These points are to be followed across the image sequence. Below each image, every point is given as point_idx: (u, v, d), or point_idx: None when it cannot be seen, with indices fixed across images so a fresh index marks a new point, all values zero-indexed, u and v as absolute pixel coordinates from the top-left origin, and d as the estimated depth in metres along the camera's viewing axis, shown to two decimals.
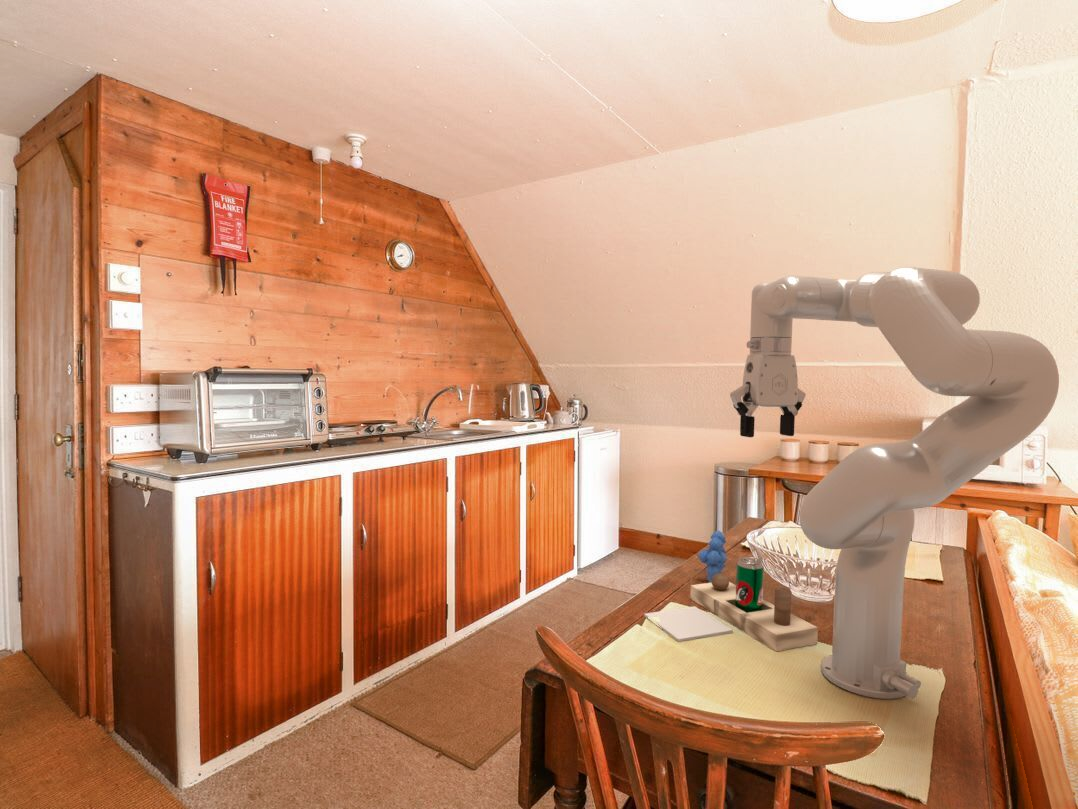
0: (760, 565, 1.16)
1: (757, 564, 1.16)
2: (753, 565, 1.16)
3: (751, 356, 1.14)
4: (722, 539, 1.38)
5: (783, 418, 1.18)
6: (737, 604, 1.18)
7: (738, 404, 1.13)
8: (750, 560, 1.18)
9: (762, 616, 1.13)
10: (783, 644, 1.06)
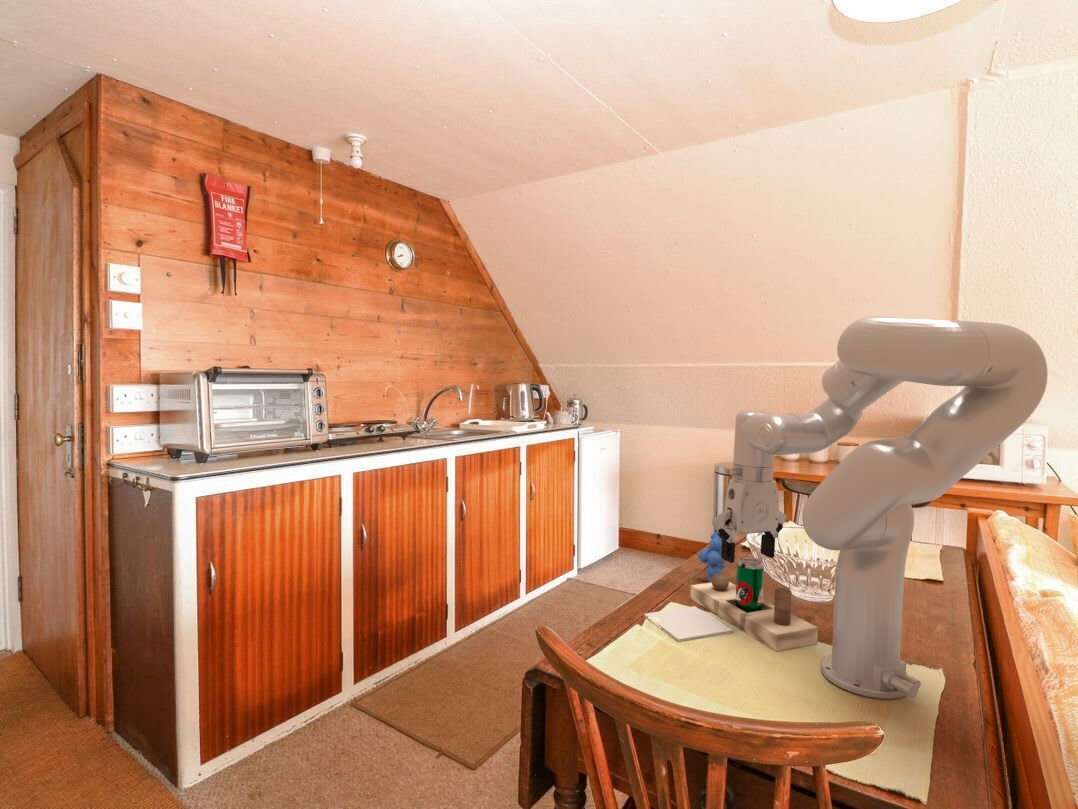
0: (760, 565, 1.16)
1: (757, 564, 1.16)
2: (753, 565, 1.16)
3: (733, 483, 1.16)
4: None
5: (764, 539, 1.21)
6: (737, 604, 1.18)
7: (719, 531, 1.15)
8: (750, 560, 1.18)
9: (762, 616, 1.13)
10: (783, 644, 1.06)
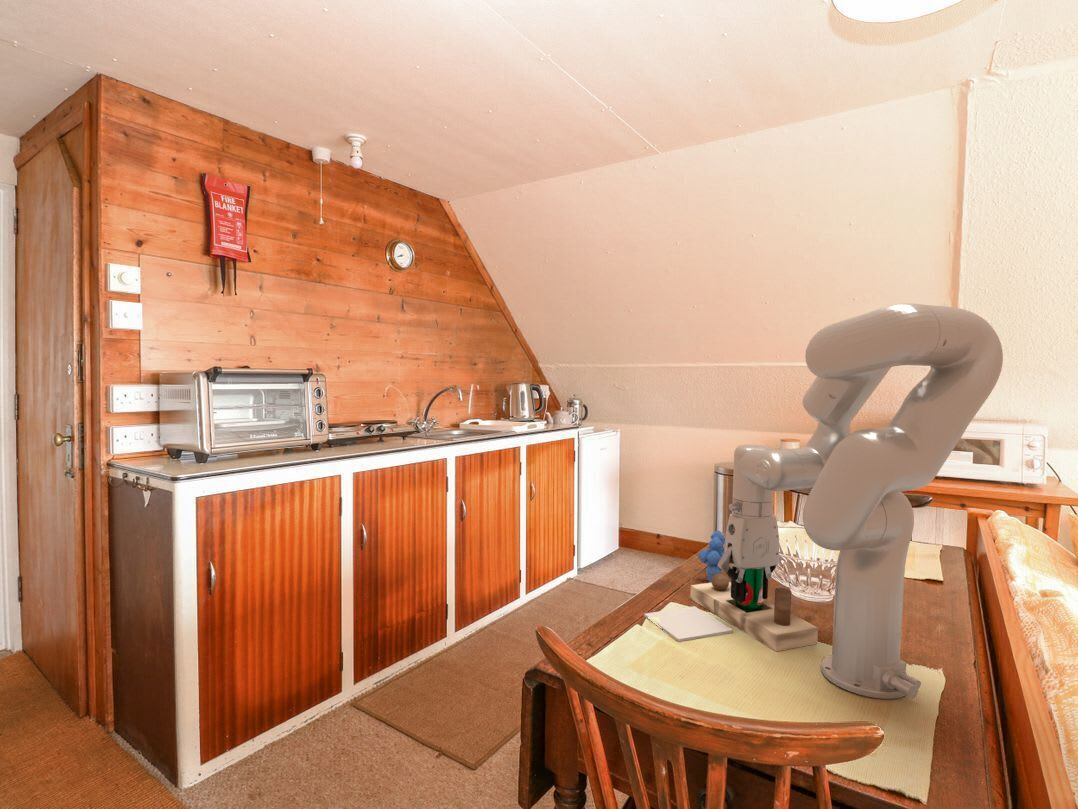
0: None
1: None
2: None
3: (733, 518, 1.16)
4: (722, 539, 1.38)
5: None
6: (737, 604, 1.18)
7: (728, 572, 1.16)
8: None
9: (762, 616, 1.13)
10: (783, 644, 1.06)
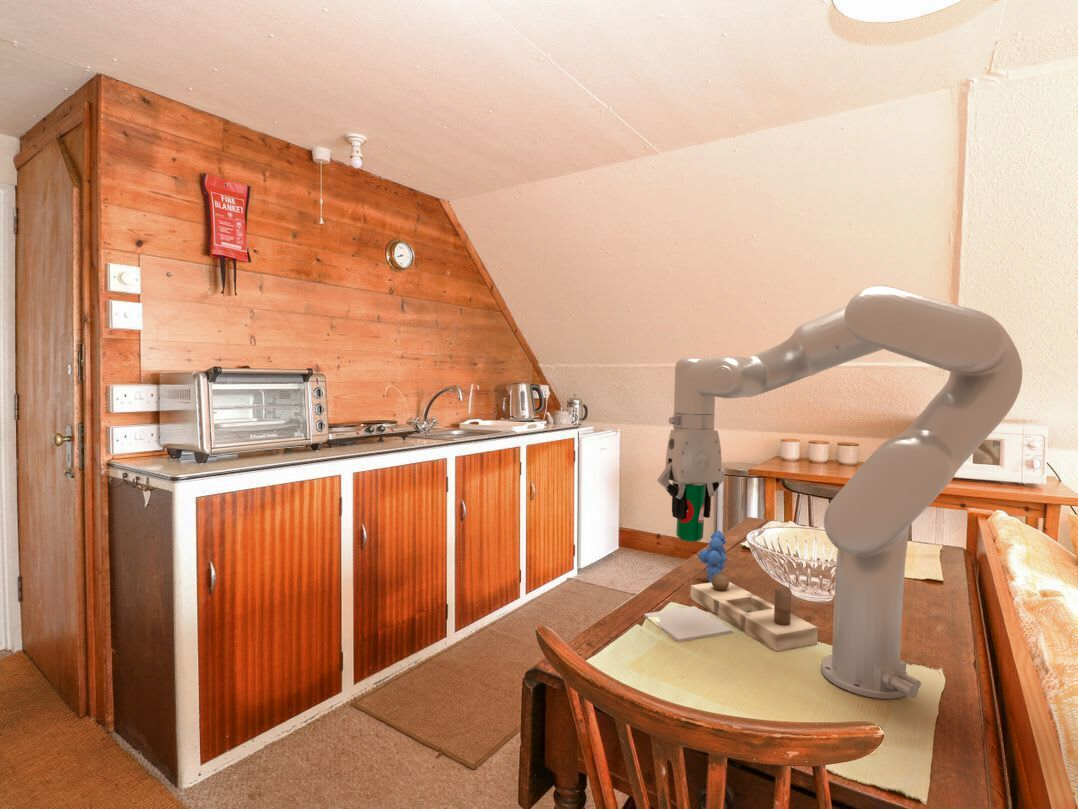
0: None
1: None
2: None
3: (673, 432, 1.12)
4: (722, 539, 1.38)
5: None
6: (678, 522, 1.14)
7: (668, 488, 1.12)
8: None
9: (762, 616, 1.13)
10: (783, 644, 1.06)
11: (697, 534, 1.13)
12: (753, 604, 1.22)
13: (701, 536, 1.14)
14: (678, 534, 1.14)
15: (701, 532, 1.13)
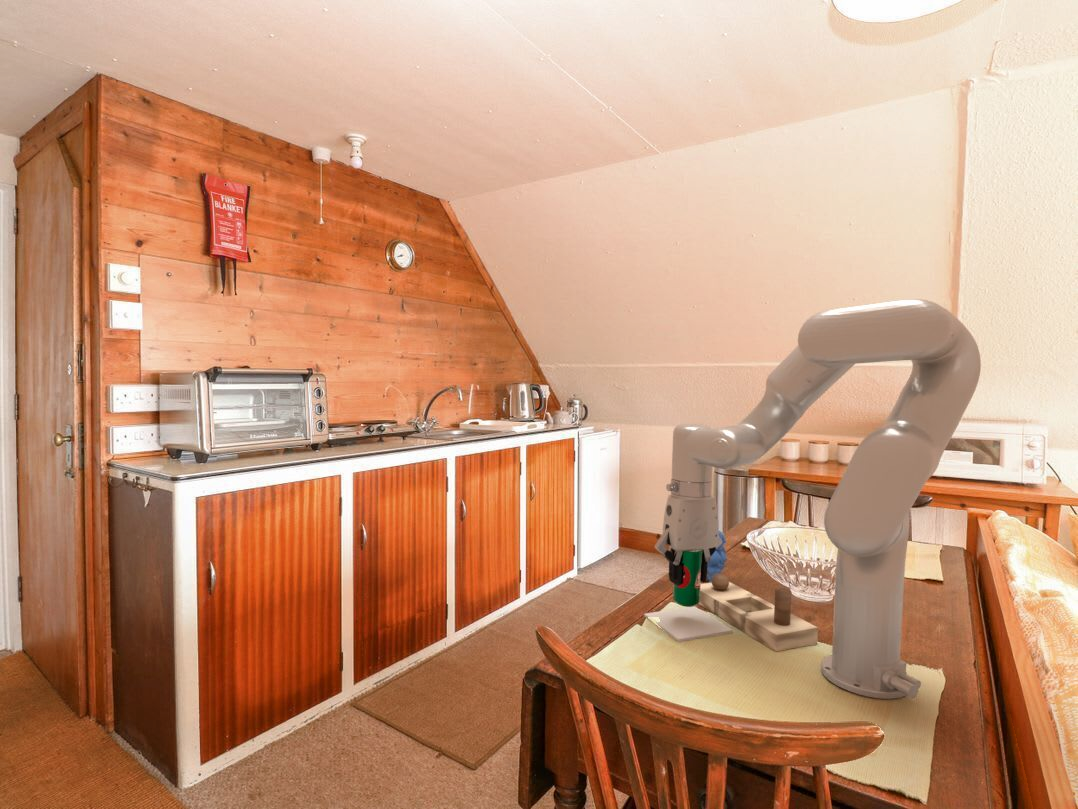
0: None
1: None
2: None
3: (671, 499, 1.13)
4: (722, 539, 1.38)
5: None
6: (675, 587, 1.15)
7: (665, 554, 1.13)
8: None
9: (762, 616, 1.13)
10: (783, 644, 1.06)
11: (693, 600, 1.14)
12: (753, 604, 1.22)
13: (697, 601, 1.14)
14: (675, 598, 1.15)
15: (697, 597, 1.14)
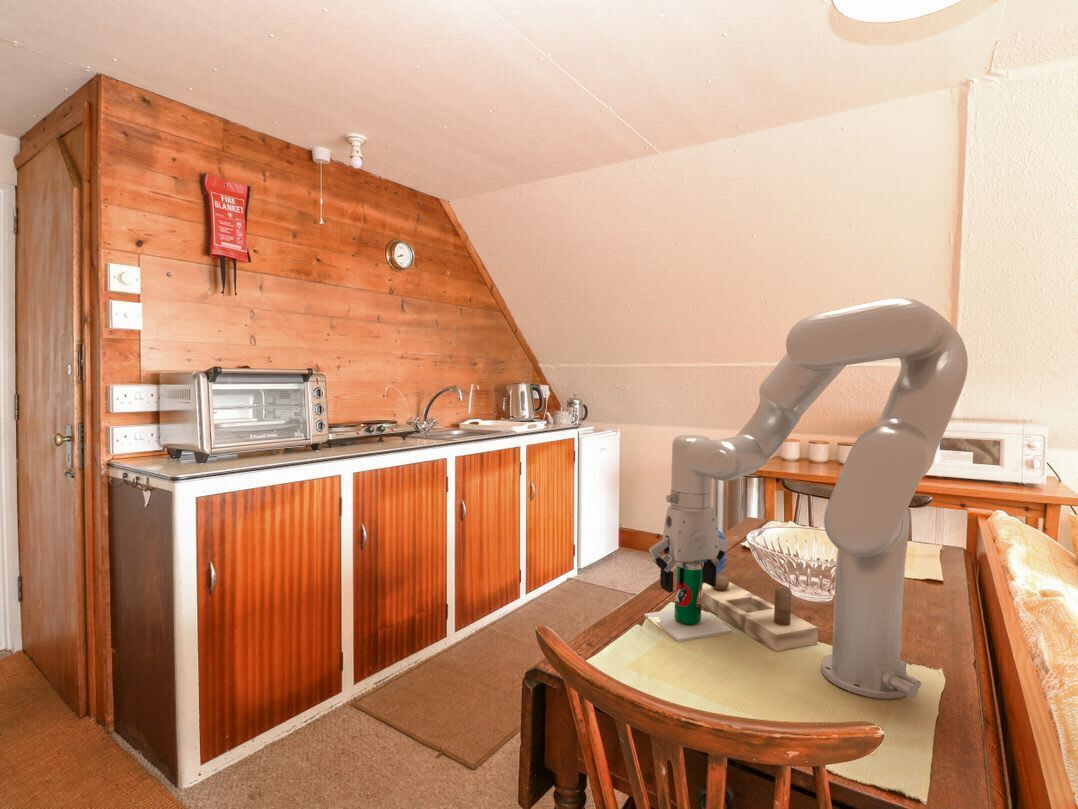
0: (699, 566, 1.14)
1: (696, 565, 1.13)
2: (692, 566, 1.13)
3: (670, 510, 1.13)
4: None
5: (706, 567, 1.18)
6: (676, 605, 1.15)
7: (656, 560, 1.12)
8: None
9: (762, 616, 1.13)
10: (783, 644, 1.06)
11: (694, 618, 1.14)
12: (753, 604, 1.22)
13: (699, 619, 1.14)
14: (676, 617, 1.15)
15: (699, 616, 1.14)
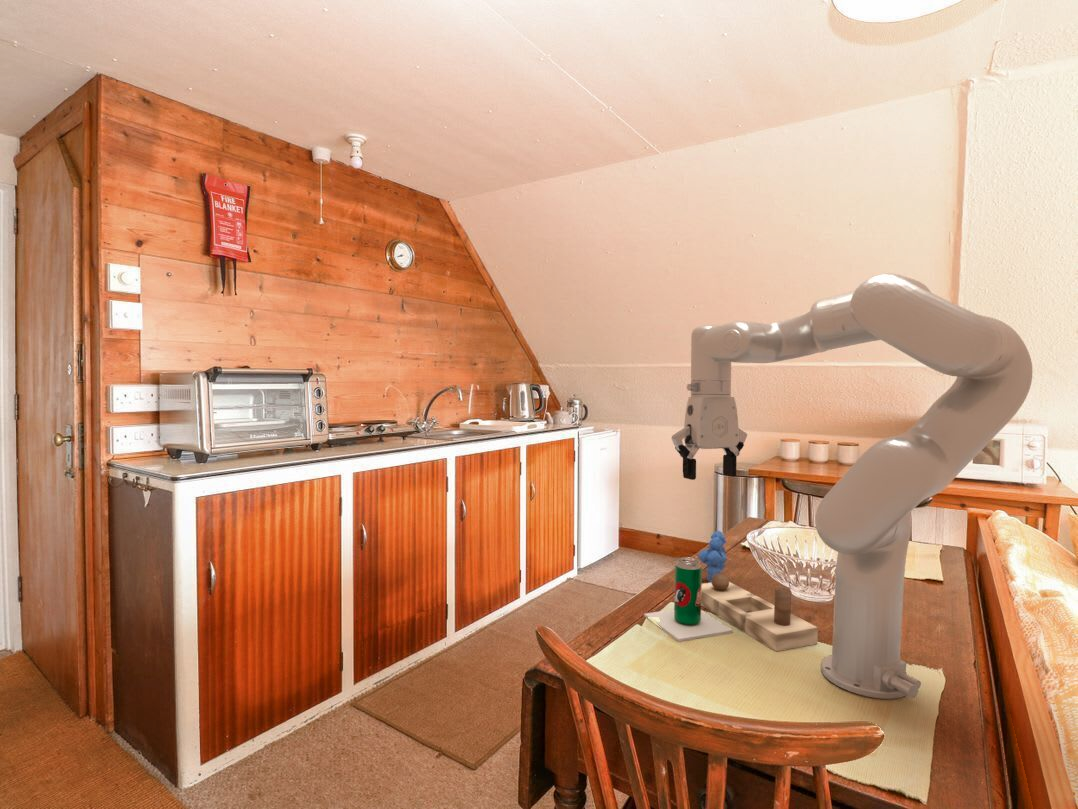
0: (698, 565, 1.14)
1: (694, 564, 1.13)
2: (690, 566, 1.13)
3: (691, 399, 1.14)
4: (722, 539, 1.38)
5: (726, 458, 1.19)
6: (675, 606, 1.15)
7: (679, 447, 1.13)
8: (688, 560, 1.15)
9: (762, 616, 1.13)
10: (783, 644, 1.06)
11: (694, 618, 1.14)
12: (753, 604, 1.22)
13: (699, 619, 1.14)
14: (676, 617, 1.15)
15: (699, 615, 1.14)
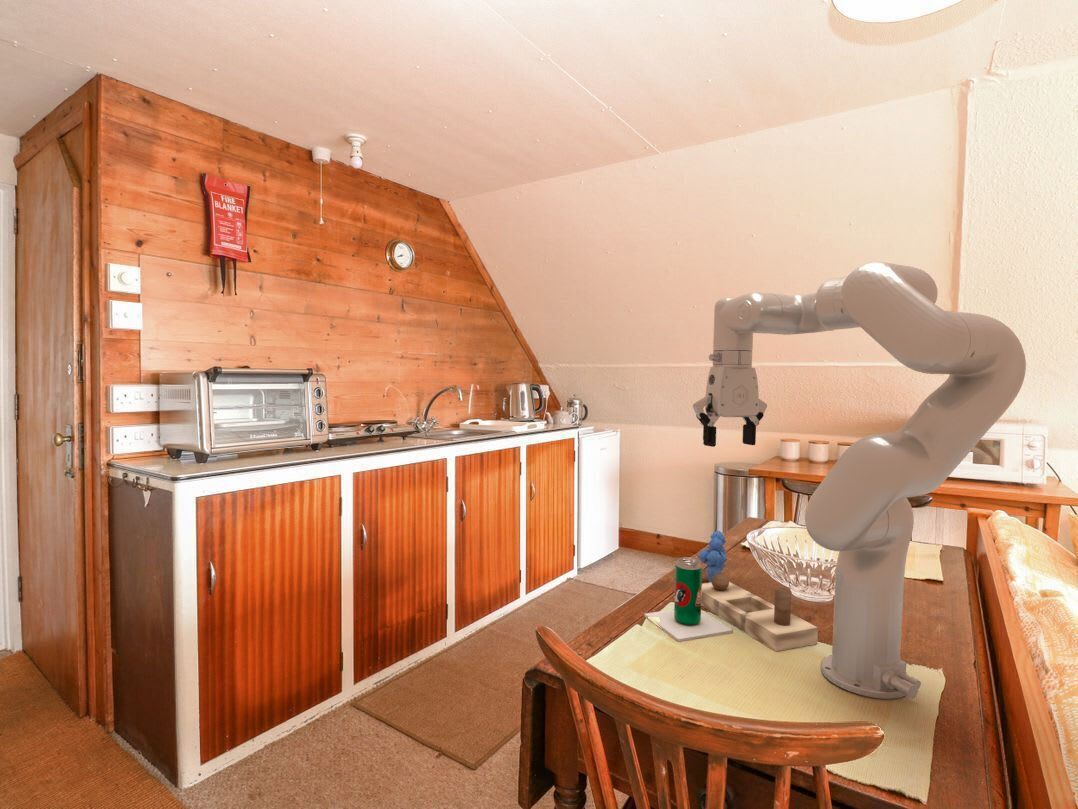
0: (698, 566, 1.14)
1: (695, 565, 1.13)
2: (690, 566, 1.13)
3: (713, 368, 1.18)
4: (722, 539, 1.38)
5: (745, 428, 1.23)
6: (675, 606, 1.15)
7: (700, 415, 1.17)
8: (688, 560, 1.15)
9: (762, 616, 1.13)
10: (783, 644, 1.06)
11: (694, 618, 1.14)
12: (753, 604, 1.22)
13: (699, 619, 1.14)
14: (676, 617, 1.15)
15: (699, 615, 1.14)
